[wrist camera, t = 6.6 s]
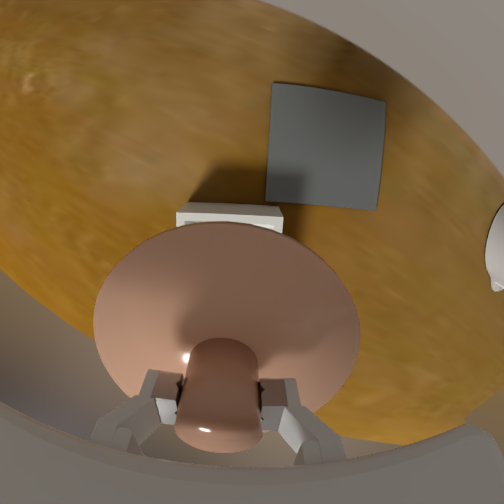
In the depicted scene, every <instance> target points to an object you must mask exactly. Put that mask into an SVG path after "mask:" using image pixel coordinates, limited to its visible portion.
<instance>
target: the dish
mask: <svg viewBox="0 0 504 504" xmlns="http://www.w3.org/2000/svg"><path fill="white" fill-rule="evenodd" d="M206 221H231V222H240V223H248V224H253V225H257V226H261V227H265V228H269V229H272V230H275V231H277V232H279V233H282V229H283V215H282V213H281V211H280V208H279V206H272V205H254V204H233V203H207V202H187V203H186V204H185V205H184V206H183V207H182V208H180V209H179V210H178V211H177V212H176V222H177V227H179V226H182V225H186V224H193V223H199V222H206Z"/></svg>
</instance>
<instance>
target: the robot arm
mask: <svg viewBox="0 0 504 504" xmlns="http://www.w3.org/2000/svg"><path fill="white" fill-rule="evenodd" d="M485 261H486V267H487V271H488V273H489V275H490V277H491V288H492V290H494V291H496V292H497V291H500V290H502V289H504V205H503V206H502V207H501V208H500V210H499V211H498V213H497V214H496V216H495V218H494V220H493V223H492V225H491V228H490V231H489V235H488V239H487V244H486V252H485ZM183 382H184V376H183V374H181V373H174V372H167V371H161V370H154V369H149V370H148V371H147V373H146V376H145V378H144V381H143V384H142V387H141V389H140V392H139V395H134V396H133V397H131V398H130V399H129V400H127V401H126V402H124V403H123V404H121V405H119V406H118V407H117V408H115V409H114V410H112V411H111V412H109V413H108V414H106V415H104V416H103V417H102V418H100V419H98V420H97V423H96V425H95V428H94V430H93V432H92V435H91V438H90V440H89V441H87V440H84V439H80V438H78V437H75V436H72V435H70V434H67V433H64V432H61V431H59V430H57V429H54V428H52V427H50V426H47V425H45V424H43V423H41V422H38V421H36V420H34V419H32V418H30V417H28V416H26V415H24V414H22V413H20V412H18V411H16V410H14V409H12V408H11V407H9V406H7V405H5V404H4V403H2V402H0V504H504V458H503V456H502V454H501V452H500V450H499V448H498V446H497V444H496V442H495V440H494V439H493V437H492V436H491V435H490V434H489V433H488V432H486V431H484V430H482V429H480V428H478V427H476V426H474V425H472V424H463V425H461V426H458V427H456V428H454V429H451V430H449V431H446V432H444V433H441V434H438V435H436V436H433V437H430V438H427V439H425V440H422V441H419V442H415V443H412V444H409V445H406V446H402V447H399V448H395V449H392V450H388V451H384V452H380V453H376V454H371V455H367V456H362V457H357V458H352V459H346V455H345V452H344V448H343V444H342V441H341V437H340V436H339V435H338V434H337V433H335V432H334V431H333V430H332V429H331V428H329V427H328V426H327V425H326V424H325V423H324V422H322V421H321V420H320V419H319V418H318V417H317V416H315V415H314V414H313V413H312V412H311V411H310V410H309V409H308V408H306V407H305V406H301V402H300V397H299V393H298V388H297V383H296V379H295V378H260V379H259V393H260V408H261V418H262V430H269V431H271V430H272V431H273V430H274V431H276V430H277V431H278V432H279V433H280V434H281V436H282V437H283V438H284V439H285V441H286V442H287V443H288V444H289V445H290V446H291V448H292V449H293V450H294V451H295V452H296V454H297V455H296V458H295V460H294V462H293V464H292V466H285V467H224V466H209V465H198V464H189V463H181V462H175V461H168V460H162V459H157V458H151V457H146V456H144V455H143V453H142V451H141V449H140V447H139V445H140V444H141V443H142V442H143V441H144V440H145V439H146V438H147V437H148V436H149V435H150V434H152V433H153V432H154V431H155V430H156V429H157V428H158V427H159V426H160V425H161V423H166V424H174V425H175V420H176V415H177V411H178V406H179V401H180V396H181V392H182V387H183Z"/></svg>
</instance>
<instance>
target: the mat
mask: <svg viewBox="0 0 504 504" xmlns="http://www.w3.org/2000/svg"><path fill="white" fill-rule="evenodd" d="M385 114H386V102H383V101H379V100H375V99H371V98H367V97H362V96H358V95H353V94H348V93H343V92H338V91H332V90H326V89H320V88H313V87H306V86H298V85H289V84H279V83H272V96H271V113H270V130H269V146H268V162H267V178H266V193H265V201H268V202H284V203H298V204H311V205H323V206H334V207H344V208H354V209H364V210H373V211H376V206H377V199H378V192H379V184H380V176H381V167H382V157H383V146H384V132H385Z"/></svg>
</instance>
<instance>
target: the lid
mask: <svg viewBox="0 0 504 504" xmlns="http://www.w3.org/2000/svg"><path fill="white" fill-rule="evenodd" d="M93 326H94V337H95V341H96V345H97V349H98V352H99V354H100V357H101V360H102V362H103V364H104V365H105V367H106V369H107V371H108V373H109V374H110V375H111V377H112V378H113V380H114V381H115V382H116V384H117V385H118V386H119V387H120V388H121V389H122V390H123V391H124V393H126V394H127V395H128V396H129V397H130V398H131V397H133V396H134V395H139V392H140V389H141V387H142V384H143V381H144V378H145V376H146V373H147V371H148V370H149V369H154V370H161V371H167V372H174V373H181V374H183V376H184V382H183V387H182V392H181V396H180V401H179V406H178V411H177V415H176V420H175V426H174V428H175V432H176V433H177V435H178V436H179V438H181V439H182V440H183V441H184V442H186V443H187V444H189V445H191V446H193V447H195V448H198V449H201V450H205V451H210V452H217V453H231V452H238V451H242V450H246V449H248V448H251V447H253V446H254V445H256V444H257V443H258V442H259V441H260V439H261V437H262V433H263V432H267V431H269V430H262V418H261V408H260V393H259V379H260V378H295V379H296V383H297V388H298V393H299V397H300V402H301V406H305V407H306V408H308V409H309V410H310V411H311V412H312V413H314V412H315V411H316V410H318V409H319V408H321V407H322V406H323V405H325V404H326V403H327V402H328V401H329V400H330V399H331V398H332V397H333V396H334V395H335V394H336V393H337V392H338V391H339V389H340V388H341V387H342V386H343V384H344V383H345V381H346V380H347V378H348V377H349V375H350V373H351V371H352V369H353V367H354V364H355V362H356V358H357V355H358V351H359V345H360V322H359V318H358V314H357V310H356V307H355V304H354V302H353V300H352V298H351V295H350V293H349V292H348V290H347V289H346V287H345V286H344V284H343V283H342V281H341V280H340V278H339V277H338V275H337V274H336V272H335V271H334V270H333V269H332V268H331V267H330V266H329V265H328V264H327V263H326V262H325V260H324V259H322V258H321V257H320V256H319V255H317V254H316V253H315V252H314V251H312V250H311V249H310V248H309V247H307V246H305V245H304V244H302V243H300V242H298V241H297V240H295V239H293V238H292V237H289V236H287V235H284V234H282V233H279V232H277V231H275V230H272V229H269V228H265V227H261V226H257V225H253V224H248V223H240V222H231V221H206V222H199V223H193V224H186V225H182V226H179V227H176V228H172V229H169V230H166V231H164V232H161V233H159V234H157V235H155V236H153V237H151V238H149V239H147V240H146V241H144V242H143V243H141V244H140V245H138V246H137V247H135V248H134V249H133V250H132V251H131V252H130V253H129V254H127V255H126V256H125V257H124V258H123V259H122V260H121V261H120V262H119V263H118V264H117V265H116V266H115V267H114V268H113V270H112V271H111V273H110V274H109V275H108V277H107V278H106V280H105V281H104V283H103V285H102V287H101V289H100V292H99V294H98V297H97V301H96V304H95V308H94V318H93Z"/></svg>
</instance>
